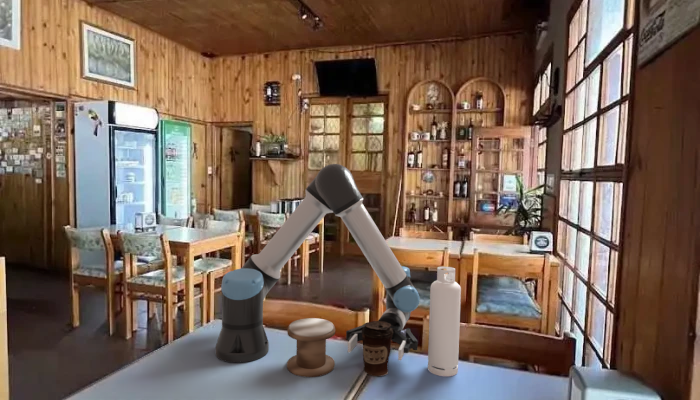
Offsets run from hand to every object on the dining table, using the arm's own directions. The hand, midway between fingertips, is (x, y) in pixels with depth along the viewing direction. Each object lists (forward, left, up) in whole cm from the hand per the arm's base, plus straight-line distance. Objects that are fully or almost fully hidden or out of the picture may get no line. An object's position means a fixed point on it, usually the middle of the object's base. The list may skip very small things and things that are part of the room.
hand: (373, 351), depth 112 cm
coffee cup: (-1, +3, -7) cm, 8 cm away
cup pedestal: (-16, -7, -7) cm, 19 cm away
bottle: (+11, +17, -7) cm, 21 cm away
